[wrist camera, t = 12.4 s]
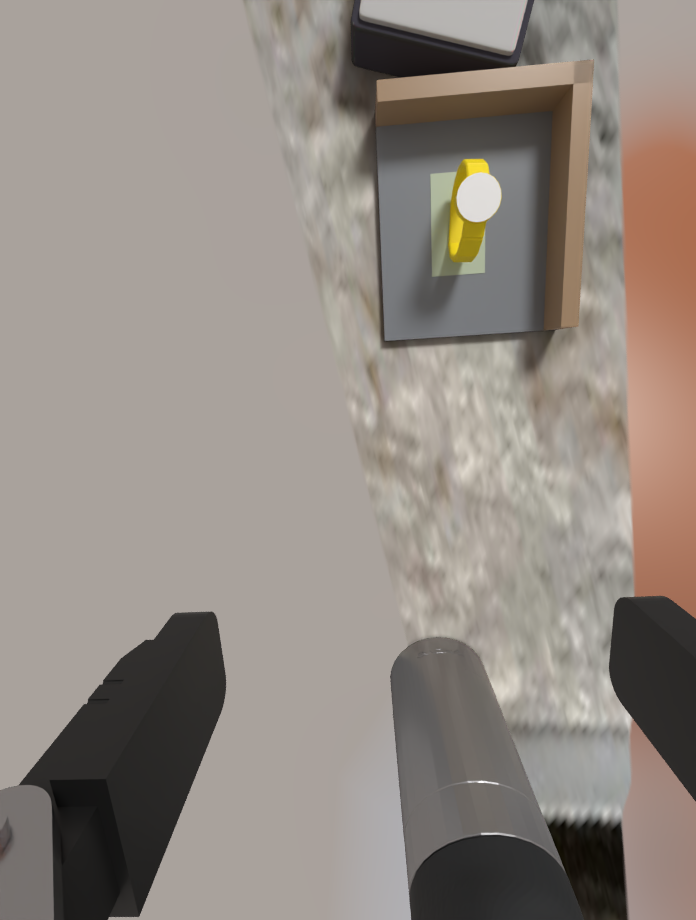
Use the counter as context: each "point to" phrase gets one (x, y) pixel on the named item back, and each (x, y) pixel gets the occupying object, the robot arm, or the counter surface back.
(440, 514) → the counter surface
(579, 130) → the corner tray
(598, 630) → the counter surface
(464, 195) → the watch
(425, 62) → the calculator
